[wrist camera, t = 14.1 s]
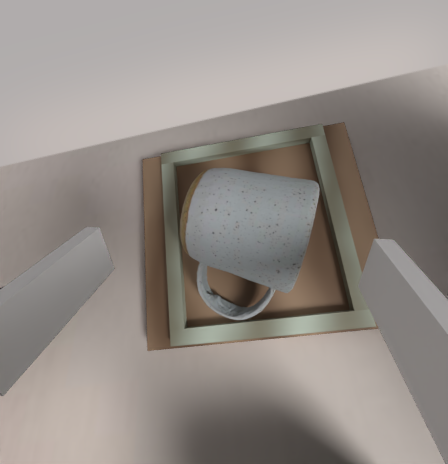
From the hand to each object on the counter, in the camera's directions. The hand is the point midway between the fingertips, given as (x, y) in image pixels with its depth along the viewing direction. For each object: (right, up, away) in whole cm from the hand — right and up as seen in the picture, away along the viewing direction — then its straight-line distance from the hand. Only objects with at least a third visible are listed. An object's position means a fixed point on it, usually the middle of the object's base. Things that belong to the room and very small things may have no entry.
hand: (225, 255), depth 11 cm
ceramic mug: (+2, -1, +9) cm, 9 cm away
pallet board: (+3, +1, +10) cm, 11 cm away
